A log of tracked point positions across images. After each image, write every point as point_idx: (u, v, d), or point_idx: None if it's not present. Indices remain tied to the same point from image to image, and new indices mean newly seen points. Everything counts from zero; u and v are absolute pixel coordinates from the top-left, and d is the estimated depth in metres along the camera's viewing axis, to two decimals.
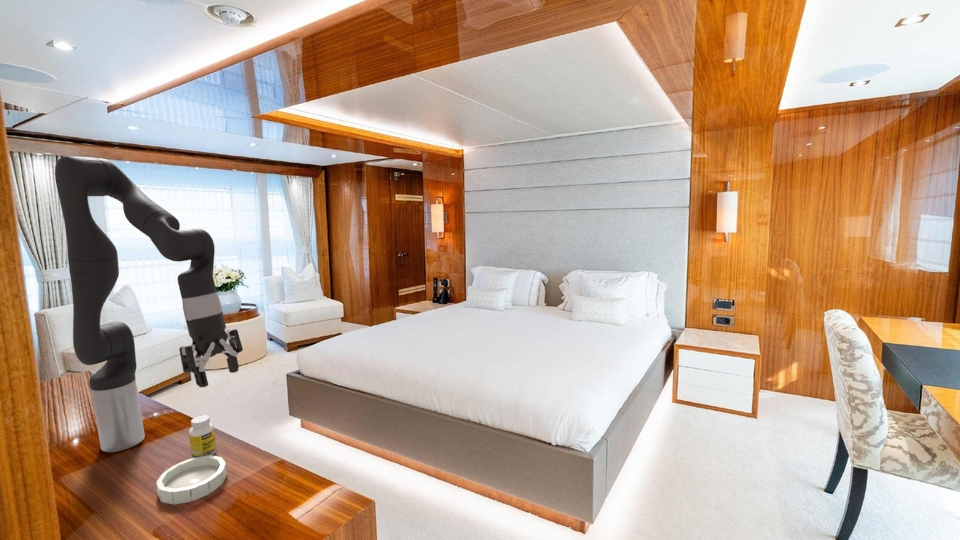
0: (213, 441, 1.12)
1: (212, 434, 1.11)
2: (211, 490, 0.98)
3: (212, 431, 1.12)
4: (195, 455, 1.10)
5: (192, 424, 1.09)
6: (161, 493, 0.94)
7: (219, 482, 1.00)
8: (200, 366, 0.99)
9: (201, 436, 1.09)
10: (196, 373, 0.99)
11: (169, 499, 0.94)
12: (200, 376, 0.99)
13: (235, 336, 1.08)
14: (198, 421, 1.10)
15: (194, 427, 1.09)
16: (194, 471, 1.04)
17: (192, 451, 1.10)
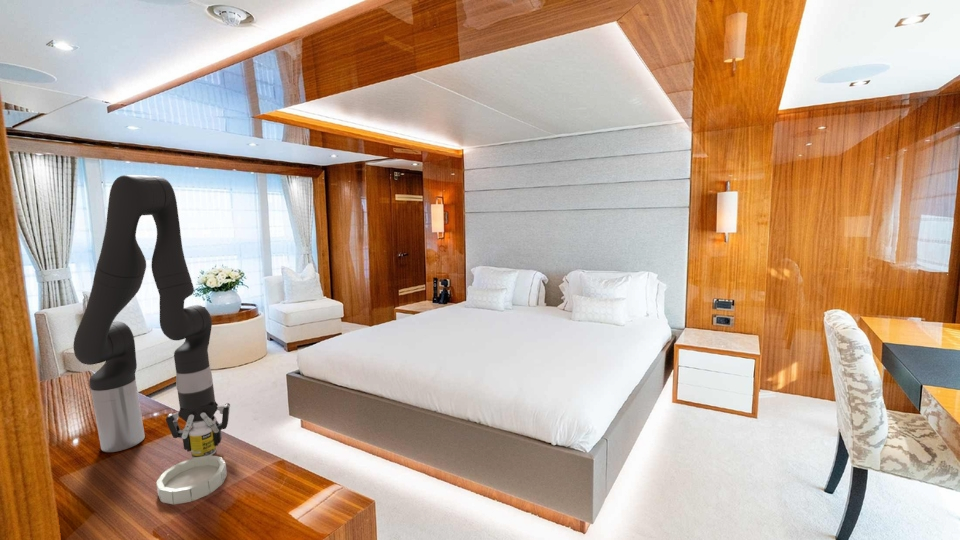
0: (213, 441, 1.12)
1: (212, 434, 1.12)
2: (211, 490, 0.98)
3: (212, 431, 1.12)
4: (195, 455, 1.10)
5: (192, 424, 1.09)
6: (161, 493, 0.94)
7: (219, 482, 1.00)
8: (183, 434, 1.09)
9: (201, 436, 1.09)
10: None
11: (169, 499, 0.94)
12: (184, 441, 1.10)
13: (222, 413, 1.11)
14: (198, 421, 1.10)
15: (194, 427, 1.09)
16: (194, 471, 1.04)
17: (192, 451, 1.10)
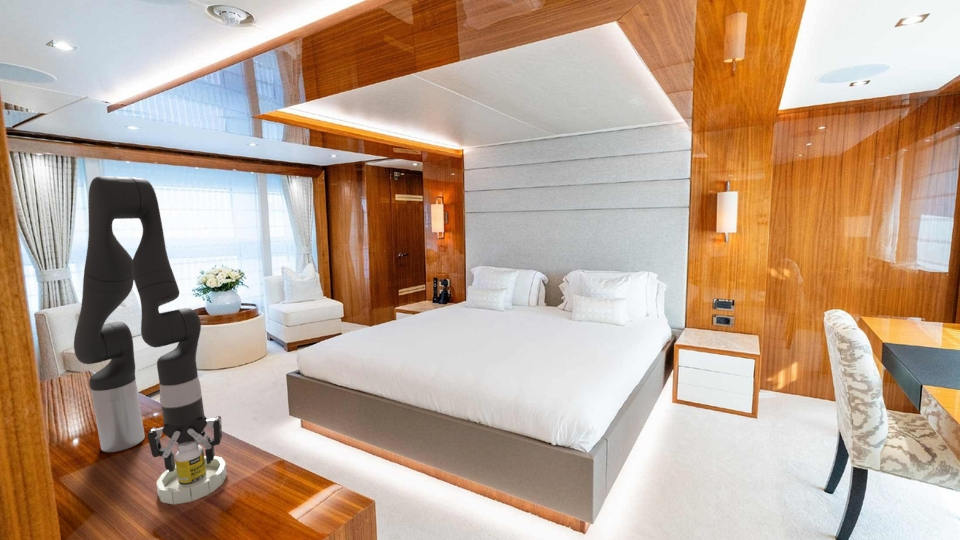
0: (202, 466, 1.00)
1: (201, 458, 0.99)
2: (211, 490, 0.98)
3: (201, 455, 0.99)
4: (182, 482, 0.98)
5: (178, 448, 0.97)
6: (161, 493, 0.94)
7: (219, 482, 1.00)
8: (165, 452, 0.96)
9: (188, 461, 0.97)
10: None
11: (169, 499, 0.94)
12: (166, 461, 0.97)
13: (213, 428, 0.99)
14: (185, 444, 0.97)
15: (181, 451, 0.97)
16: None
17: (179, 478, 0.98)
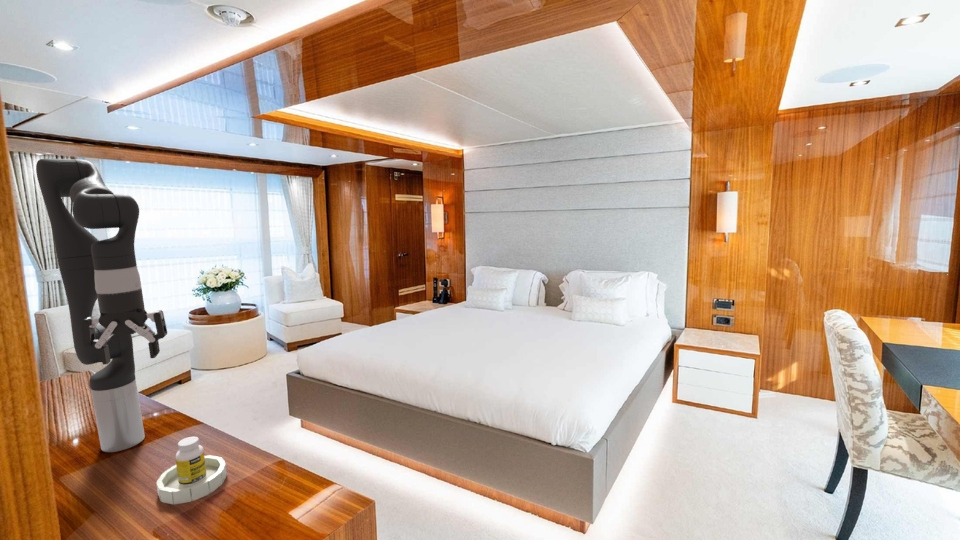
0: (203, 466, 1.00)
1: (201, 458, 1.00)
2: (211, 490, 0.98)
3: (201, 454, 1.00)
4: (182, 482, 0.98)
5: (179, 447, 0.97)
6: (161, 493, 0.94)
7: (219, 482, 1.00)
8: (97, 342, 0.92)
9: (189, 460, 0.97)
10: None
11: (169, 499, 0.94)
12: (99, 352, 0.93)
13: (154, 320, 0.96)
14: (186, 444, 0.98)
15: (181, 450, 0.97)
16: None
17: (179, 477, 0.98)
